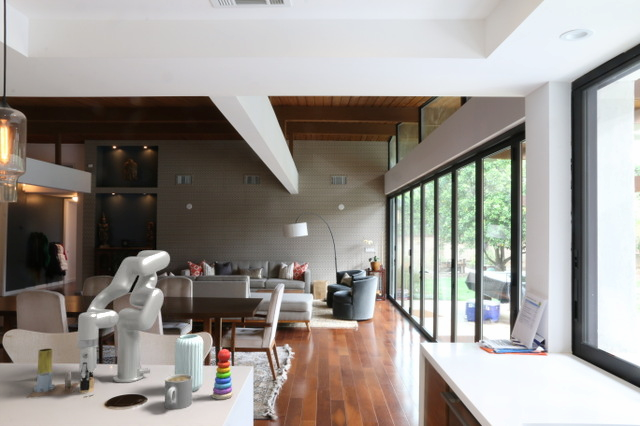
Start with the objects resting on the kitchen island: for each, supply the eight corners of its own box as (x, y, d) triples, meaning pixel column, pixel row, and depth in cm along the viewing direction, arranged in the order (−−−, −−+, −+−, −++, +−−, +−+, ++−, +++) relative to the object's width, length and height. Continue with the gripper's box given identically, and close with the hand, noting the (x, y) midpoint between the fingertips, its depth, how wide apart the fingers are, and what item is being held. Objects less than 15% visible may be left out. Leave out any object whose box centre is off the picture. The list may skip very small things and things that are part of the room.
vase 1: (44, 385, 194) (45, 351, 194) (32, 384, 195) (33, 351, 196) (55, 380, 200) (56, 348, 200) (43, 379, 201) (45, 347, 202)
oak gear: (97, 390, 187) (98, 376, 187) (94, 396, 180) (94, 381, 180) (79, 392, 185) (79, 377, 185) (75, 398, 178) (75, 382, 178)
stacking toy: (222, 401, 174) (223, 353, 175) (208, 397, 178) (208, 350, 180) (236, 395, 181) (237, 348, 182) (222, 392, 185) (222, 346, 186)
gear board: (79, 386, 192) (80, 368, 193) (71, 397, 179) (72, 378, 179) (37, 389, 188) (37, 371, 188) (26, 401, 174) (26, 382, 175)
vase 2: (194, 395, 182) (195, 339, 183) (169, 393, 184) (170, 338, 185) (207, 385, 193) (208, 333, 194) (182, 384, 195) (183, 332, 196)
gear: (52, 385, 189) (53, 370, 189) (55, 389, 184) (56, 374, 184) (33, 388, 185) (33, 374, 185) (35, 393, 179) (36, 378, 180)
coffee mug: (175, 398, 178) (175, 373, 178) (196, 401, 175) (197, 375, 175) (152, 411, 165) (153, 383, 165) (175, 414, 162) (176, 386, 162)
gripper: (94, 347, 176) (92, 393, 175) (101, 337, 193) (100, 379, 192) (72, 348, 174) (71, 395, 173) (82, 339, 191) (81, 381, 190)
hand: (86, 386), depth 183 cm, fingers open, 6 cm apart
